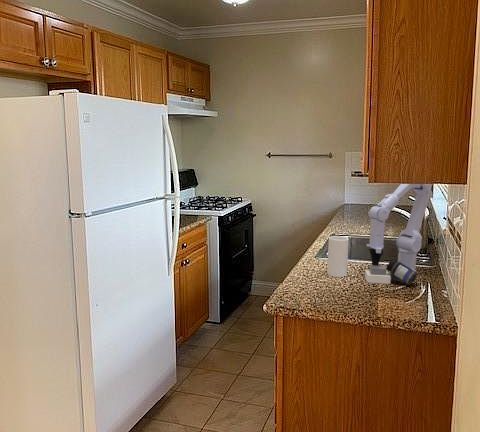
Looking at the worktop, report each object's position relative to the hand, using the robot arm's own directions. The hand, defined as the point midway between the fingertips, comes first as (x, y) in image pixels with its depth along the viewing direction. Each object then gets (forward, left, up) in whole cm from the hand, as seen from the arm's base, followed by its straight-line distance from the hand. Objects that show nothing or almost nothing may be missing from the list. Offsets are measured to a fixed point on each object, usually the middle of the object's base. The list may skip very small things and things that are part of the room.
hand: (375, 266), depth 202 cm
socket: (+8, 0, -4) cm, 9 cm away
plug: (+5, +8, -4) cm, 10 cm away
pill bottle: (+14, +13, -1) cm, 19 cm away
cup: (+3, -16, -4) cm, 17 cm away
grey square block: (+8, 0, -1) cm, 8 cm away
